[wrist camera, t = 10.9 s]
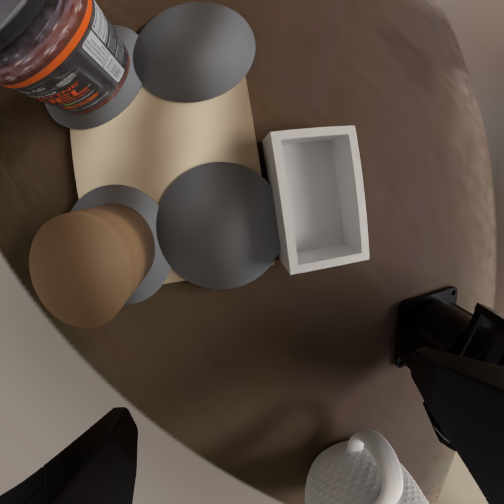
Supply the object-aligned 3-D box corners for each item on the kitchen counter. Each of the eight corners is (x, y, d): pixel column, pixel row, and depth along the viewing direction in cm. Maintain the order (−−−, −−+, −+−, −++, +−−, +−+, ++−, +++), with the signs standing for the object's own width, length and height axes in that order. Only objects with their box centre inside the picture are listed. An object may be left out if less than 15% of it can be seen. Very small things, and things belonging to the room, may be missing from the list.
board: (244, 4, 16) (255, -57, 9) (288, 272, 21) (320, 315, 14) (52, 53, 15) (3, 19, 8) (86, 305, 20) (41, 352, 13)
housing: (333, 133, 19) (354, 125, 16) (347, 247, 21) (369, 259, 18) (261, 140, 19) (270, 131, 15) (279, 260, 21) (290, 274, 17)
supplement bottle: (54, 125, 16) (-66, 95, 5) (58, 52, 14) (-34, -13, 3) (134, 104, 16) (42, 27, 5) (133, 29, 15) (73, -75, 4)
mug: (294, 409, 24) (336, 533, 11) (403, 384, 25) (476, 473, 12) (291, 491, 27) (313, 578, 14) (376, 470, 28) (414, 544, 15)
